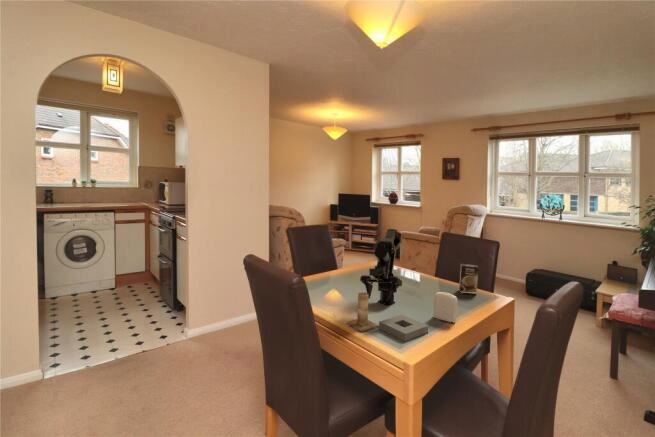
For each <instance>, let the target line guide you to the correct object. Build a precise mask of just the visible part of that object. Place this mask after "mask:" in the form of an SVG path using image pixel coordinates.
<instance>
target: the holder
mask: <svg viewBox="0 0 655 437" xmlns="http://www.w3.org/2000/svg"><path fill="white" fill-rule="evenodd" d="M378 325H379V327H378V329H379V330H382V331H383V332H386V333H388V334H389V335H391V336H394V337H395V338H398V339H399V340H402V341H403V342H407V341H410V340H413V339H415V338H417V337H420V336H423V335H425V334H428V331H429V325H428V324H425V323H422V322H420V321H417V320H415V319H412V317H411V318H410V317H408V316H406V315H403V314H400V315H396V316H393V317H389V318H386V319H382V320H379V321H378Z"/></svg>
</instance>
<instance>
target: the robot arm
mask: <svg viewBox="0 0 655 437" xmlns="http://www.w3.org/2000/svg"><path fill="white" fill-rule="evenodd" d="M402 243H403V235H402V233H401V232H399V231H398V229H396V228H395V229H394V228H387V230H386V232H385V236H384V238H381V239H380V240H379V241H378V242H377V244H376V246H375V249H374V256H375V258H376V260H377V262H376V265H375V266H374V268H369V270H368V271H369V274H368V275H364V274H363V275H361V276H360V278H359V282H361V283H362V284H363V285H364V286H365V289H366V293H368V294H369V298H368V300H369V299H371V297H372V291H373V287H374V285H373V284H374V283H377V288H378V289H377V291H378V292H380V296H379V300H377V302H378V303H381V304H382V305H385V306H389V305H392V304H395V303H396V301H395V293H397V291H398V289H399V287H403V281H402V279H401V278H400V277H398V276H395V275H394V267H395V263H396V262H395V261H396V255H397V251H398V249H399V248H400V247H401V244H402ZM371 276H372V277H371Z"/></svg>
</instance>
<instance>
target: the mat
mask: <svg viewBox="0 0 655 437" xmlns="http://www.w3.org/2000/svg"><path fill="white" fill-rule="evenodd" d="M346 324H347V326H348V325H349V326H348V327H350V328H352V329H354V330H355V329H356V331H357V330H358V331H357V332H359V331H360V333H361V332H362V333H364V332H368V331H370V330H371V331H372V330H375V329H377V328H378V329H379V324H378V323H375V322H374V321H371V320H369V319H368V324H367V325H366V326H360V325H358V324H357V318H355V319H352V320H348V321H346V322H345V325H346Z"/></svg>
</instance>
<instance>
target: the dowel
mask: <svg viewBox="0 0 655 437" xmlns="http://www.w3.org/2000/svg"><path fill="white" fill-rule="evenodd" d="M356 314H357V315H356V316H357V318H356V319H357V324H358V325H360V326H366V325H367V324H368V320H369V319H368V318H369V317H368V316H369V294H368V293H367V292H363V291H362V292H358V293H357V313H356Z"/></svg>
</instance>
